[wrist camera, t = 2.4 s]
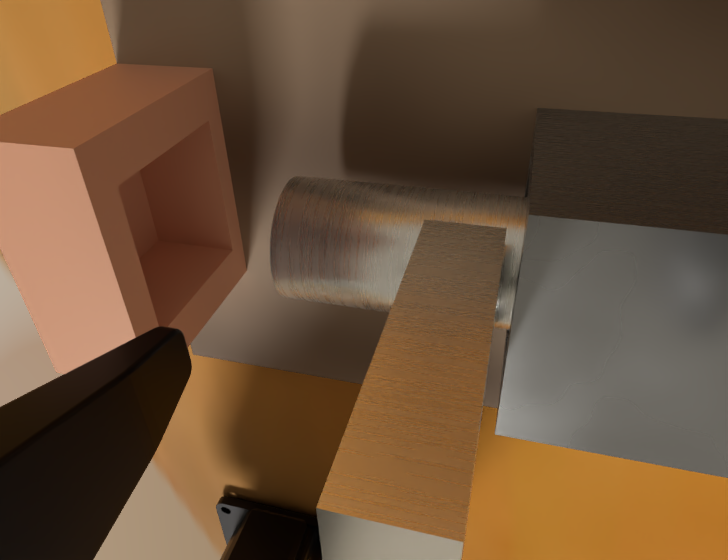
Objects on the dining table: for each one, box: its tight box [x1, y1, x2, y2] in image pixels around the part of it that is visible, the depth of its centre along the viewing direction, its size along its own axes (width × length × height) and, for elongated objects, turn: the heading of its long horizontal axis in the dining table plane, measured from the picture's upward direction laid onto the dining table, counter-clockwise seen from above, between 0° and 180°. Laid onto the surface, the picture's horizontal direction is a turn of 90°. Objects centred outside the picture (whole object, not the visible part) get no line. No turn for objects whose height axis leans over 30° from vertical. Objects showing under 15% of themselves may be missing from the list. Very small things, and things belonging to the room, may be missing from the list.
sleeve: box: [495, 108, 728, 478], centre depth 11 cm, size 5×6×5 cm
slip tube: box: [270, 176, 528, 560], centre depth 10 cm, size 12×3×9 cm, turn 92°
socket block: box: [0, 64, 247, 374], centre depth 14 cm, size 6×3×5 cm, turn 1°
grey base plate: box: [101, 0, 728, 408], centre depth 15 cm, size 14×17×1 cm
